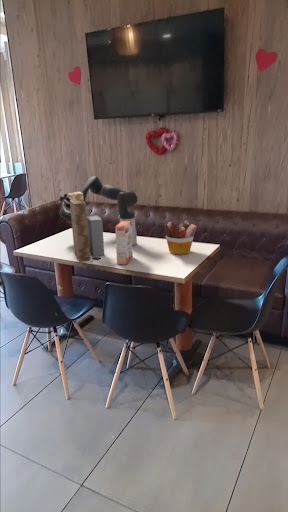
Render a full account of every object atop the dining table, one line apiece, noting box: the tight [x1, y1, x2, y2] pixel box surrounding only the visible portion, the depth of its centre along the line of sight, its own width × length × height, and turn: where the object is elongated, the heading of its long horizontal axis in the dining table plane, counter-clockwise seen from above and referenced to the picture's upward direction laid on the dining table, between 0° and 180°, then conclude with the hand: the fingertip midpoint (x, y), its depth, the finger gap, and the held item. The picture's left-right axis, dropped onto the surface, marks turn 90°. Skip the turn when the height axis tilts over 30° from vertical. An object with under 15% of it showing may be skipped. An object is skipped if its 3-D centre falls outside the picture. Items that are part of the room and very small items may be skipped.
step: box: [87, 215, 105, 259], centre depth 209 cm, size 6×12×22 cm, turn 21°
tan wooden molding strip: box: [67, 191, 84, 204], centre depth 200 cm, size 4×24×5 cm, turn 21°
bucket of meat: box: [163, 220, 198, 255], centre depth 207 cm, size 20×16×20 cm
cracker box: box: [115, 221, 134, 266], centre depth 196 cm, size 14×6×21 cm, turn 168°
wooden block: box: [70, 200, 91, 263], centre depth 201 cm, size 6×14×32 cm, turn 21°
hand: (72, 194), depth 207 cm, fingers open, 7 cm apart
